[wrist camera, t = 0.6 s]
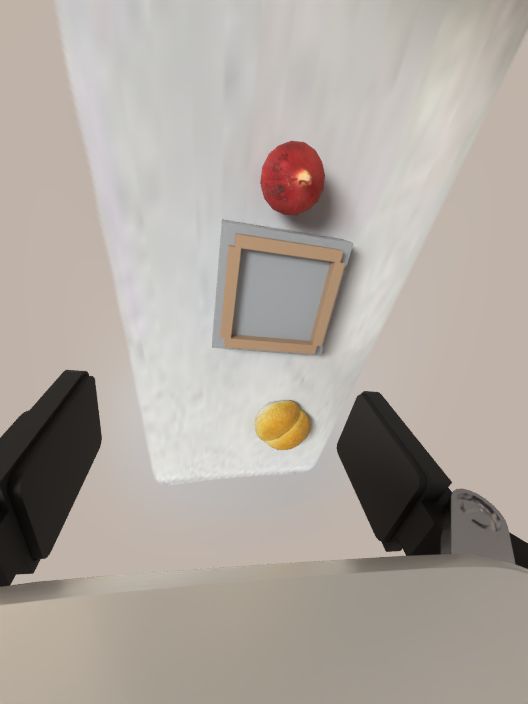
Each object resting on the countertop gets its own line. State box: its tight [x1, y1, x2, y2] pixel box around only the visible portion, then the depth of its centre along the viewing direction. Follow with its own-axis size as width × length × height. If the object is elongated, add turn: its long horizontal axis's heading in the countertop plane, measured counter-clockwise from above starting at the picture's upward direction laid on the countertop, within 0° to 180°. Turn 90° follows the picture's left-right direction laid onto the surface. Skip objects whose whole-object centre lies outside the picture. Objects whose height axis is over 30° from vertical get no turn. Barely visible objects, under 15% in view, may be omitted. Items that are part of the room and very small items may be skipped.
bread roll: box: [255, 400, 310, 450], centre depth 44 cm, size 8×9×4 cm
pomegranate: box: [260, 141, 325, 215], centre depth 26 cm, size 6×6×8 cm
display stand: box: [212, 220, 353, 356], centre depth 33 cm, size 14×14×4 cm
